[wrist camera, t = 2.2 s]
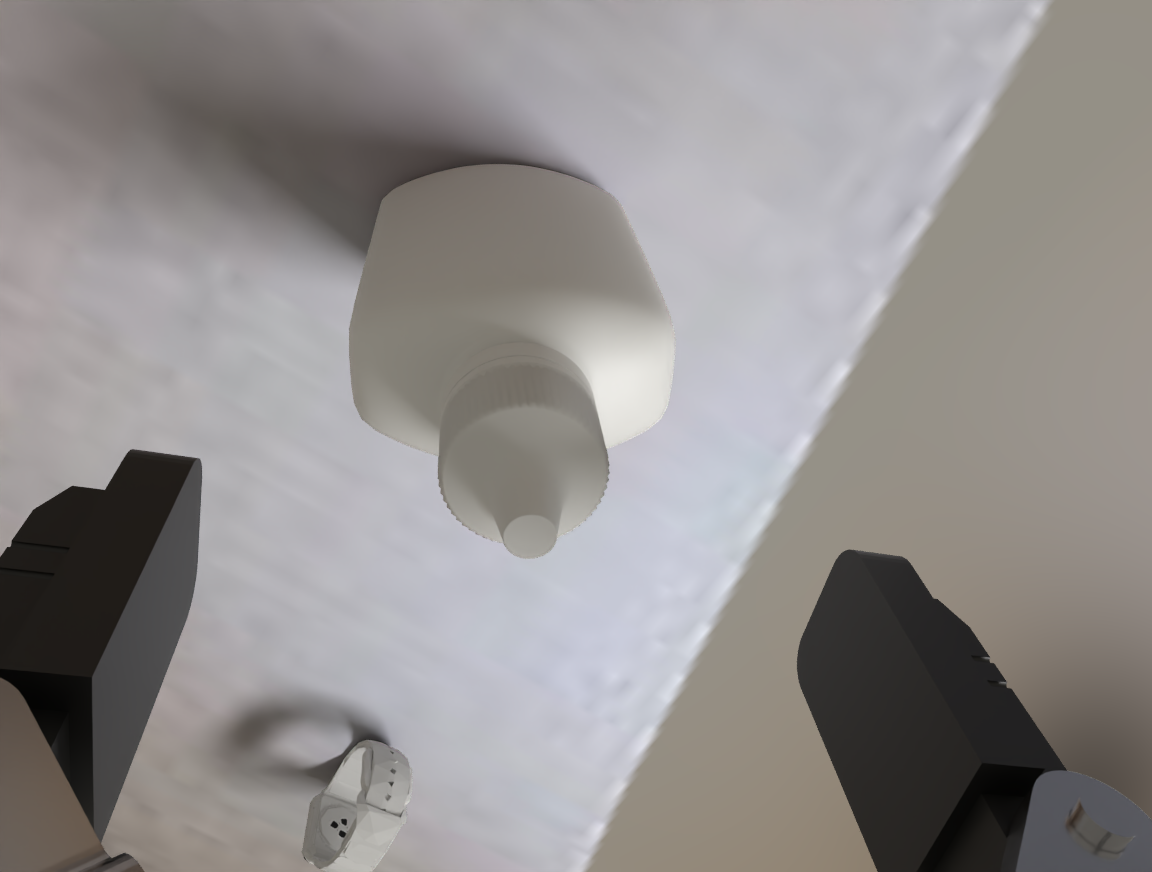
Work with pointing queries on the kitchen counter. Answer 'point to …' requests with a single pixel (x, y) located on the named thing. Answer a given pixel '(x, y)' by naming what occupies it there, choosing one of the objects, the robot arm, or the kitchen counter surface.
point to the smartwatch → (359, 810)
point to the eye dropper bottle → (510, 343)
